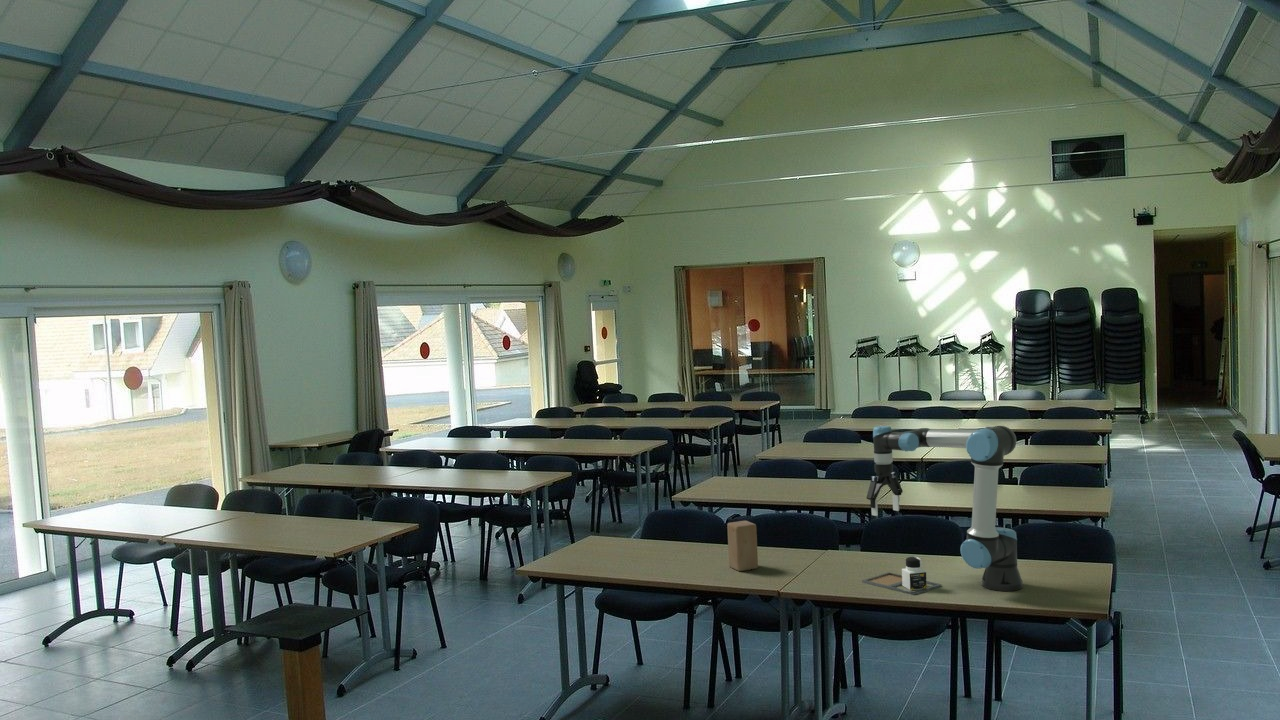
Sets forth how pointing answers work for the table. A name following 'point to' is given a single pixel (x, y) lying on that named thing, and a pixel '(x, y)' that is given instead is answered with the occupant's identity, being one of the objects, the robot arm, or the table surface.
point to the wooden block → (742, 545)
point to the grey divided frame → (895, 582)
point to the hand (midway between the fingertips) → (885, 513)
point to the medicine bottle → (914, 574)
